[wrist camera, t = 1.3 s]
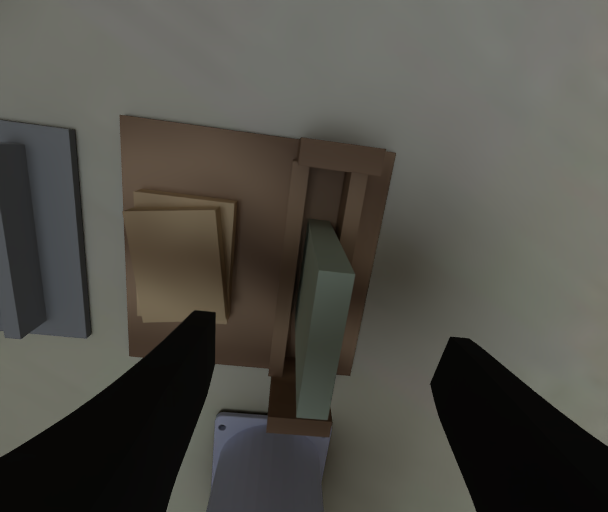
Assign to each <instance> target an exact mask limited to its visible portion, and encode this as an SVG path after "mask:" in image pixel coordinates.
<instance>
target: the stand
mask: <svg viewBox="0 0 608 512" xmlns="http://www.w3.org/2000/svg"><path fill="white" fill-rule="evenodd" d="M0 331H4V335H5V338H14V339H22V338H23V337H24V336H26V335H27V334H29V333H31V334H42V335H53V336H64V337H75V338H86V339H87V338H88V337H89V336H90V335H91V325H90V313H89V300H88V288H87V275H86V263H85V250H84V238H83V225H82V213H81V200H80V188H79V175H78V163H77V151H76V138H75V130H73V129H66V128H58V127H51V126H43V125H36V124H28V123H21V122H13V121H6V120H0Z"/></svg>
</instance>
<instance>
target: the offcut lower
mask: <svg viewBox="0 0 608 512" xmlns="http://www.w3.org/2000/svg"><path fill="white" fill-rule="evenodd" d="M133 194H134V208H142V207H205V206H220V217H221V228H222V239H223V250H224V261H225V272H226V283H227V294H228V305H229V313H228V316H227V319H226V321H216V324H227V322H228V319H229V317H230V305H231V290H232V275H233V260H234V245H235V230H236V215H237V200H229V199H220V198H212V197H204V196H196V195H188V194H180V193H172V192H164V191H155V190H147V189H140V190H136V191H133ZM136 293H137V288H136ZM137 316H142V315H141V309H140V304H139V298H138V293H137Z"/></svg>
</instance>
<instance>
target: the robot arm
mask: <svg viewBox="0 0 608 512" xmlns="http://www.w3.org/2000/svg"><path fill="white" fill-rule="evenodd" d="M215 334H216V312H209V311H200V310H194V311H193V312H192V313H191V314H190V315H189V316H188V317H187V318H186V319H185V320H183V321H182V322H181V323H180V324H179V325H178V326H177V327H176V328H175V329H174V330H173V331H172V332H171V333H170V334H169V335H168V336H167V337H166V338H165V339H164V340H163V341H162V342H160V343H159V344H158V345H157V346H156V347H155V348H154V349H153V350H152V351H150V352H149V353H148V354H147V355H146V356H145V357H144V358H143V359H141V360H140V361H139V362H138V363H137V364H135V365H134V366H133V367H132V368H131V369H129V370H128V371H127V372H126V373H124V374H123V375H122V376H121V377H120V378H118V379H117V380H116V381H115V382H113V383H112V384H111V385H109V386H108V387H107V388H105V389H104V390H103V391H102V392H100V393H99V394H97V395H96V396H95V397H93V398H92V399H91V400H89V401H88V402H86V403H85V404H84V405H82V406H81V407H79V408H78V409H76V410H75V411H74V412H72V413H71V414H69V415H68V416H66V417H65V418H63V419H62V420H60V421H58V422H57V423H55V424H54V425H52V426H51V427H49V428H48V429H46V430H45V431H43V432H41V433H40V434H38V435H37V436H35V437H33V438H32V439H30V440H29V441H27V442H25V443H24V444H22V445H21V446H19V447H17V448H16V449H14V450H12V451H11V452H9V453H7V454H5V455H4V456H2V457H0V512H166V510H167V506H168V503H169V499H170V496H171V492H172V489H173V486H174V483H175V480H176V477H177V474H178V472H179V469H180V466H181V464H182V461H183V458H184V456H185V453H186V450H187V448H188V445H189V443H190V440H191V437H192V435H193V432H194V429H195V427H196V424H197V421H198V419H199V416H200V413H201V410H202V408H203V405H204V402H205V400H206V397H207V394H208V390H209V386H210V382H211V378H212V374H213V370H214V366H215ZM430 385H431V389H432V393H433V397H434V402H435V405H436V409H437V412H438V416H439V418H440V421H441V424H442V426H443V429H444V431H445V434H446V436H447V439H448V441H449V444H450V446H451V449H452V451H453V454H454V456H455V458H456V461H457V463H458V466H459V468H460V471H461V473H462V476H463V478H464V481H465V483H466V485H467V488H468V490H469V493H470V495H471V498H472V501H473V503H474V506H475V509H476V512H608V446H606V445H605V444H603V443H602V442H601V441H599V440H598V439H596V438H595V437H593V436H592V435H591V434H589V433H588V432H587V431H585V430H584V429H582V428H581V427H580V426H578V425H577V424H576V423H574V422H573V421H572V420H570V419H569V418H568V417H567V416H565V415H564V414H563V413H561V412H560V411H559V410H557V409H556V408H555V407H553V406H552V405H551V404H550V403H548V402H547V401H546V400H545V399H543V398H542V397H541V396H540V395H538V394H537V393H536V392H535V391H533V390H532V389H531V388H530V387H529V386H527V385H526V384H525V383H524V382H522V381H521V380H520V379H519V378H518V377H516V376H515V375H514V374H513V373H512V372H510V371H509V370H508V369H507V368H506V367H504V366H503V365H502V364H501V363H500V362H498V361H497V360H496V359H495V358H494V357H492V356H491V355H490V354H489V353H487V352H486V351H485V350H484V349H482V348H481V347H480V346H479V345H477V344H476V343H475V342H473V341H472V340H471V339H469V338H459V337H450V338H449V340H448V343H447V345H446V348H445V350H444V352H443V355H442V357H441V359H440V362H439V364H438V366H437V369H436V371H435V373H434V376H433V378H432V380H431V383H430ZM267 417H268V415H256V414H243V413H230V412H220V413H218V414H217V416H216V419H215V431H214V448H213V466H212V483H211V493H210V498H209V502H208V506H207V510H206V512H324V508H323V496H322V484H321V482H322V477H323V472H324V467H325V462H326V457H327V452H328V447H329V442H330V437H331V432H332V426H331V431H330V437H315V436H302V435H289V434H275V433H266V428H267ZM221 425H225V426H221Z"/></svg>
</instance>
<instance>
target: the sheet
mask: <svg viewBox="0 0 608 512" xmlns="http://www.w3.org/2000/svg"><path fill="white" fill-rule="evenodd" d="M354 279H355V273H354V270H353V268H352V266H351V264H350V262H349V260H348V258H347V256H346V254H345V252H344V250H343V248H342V246H341V244H340V241H339V239H338V237H337V235H336V233H335V231H334V229H333V227H332V225H331V223H330V221H325V220H317V219H309V218H308V223H307V230H306V238H305V245H304V252H303V260H302V267H301V275H300V282H299V289H298V297H297V304H296V311H295V355H296V418H307V419H320V420H328V415H329V410H330V405H331V400H332V394H333V389H334V384H335V379H336V373H337V368H338V363H339V358H340V352H341V347H342V342H343V337H344V331H345V326H346V321H347V316H348V310H349V305H350V300H351V295H352V290H353V284H354Z"/></svg>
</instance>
